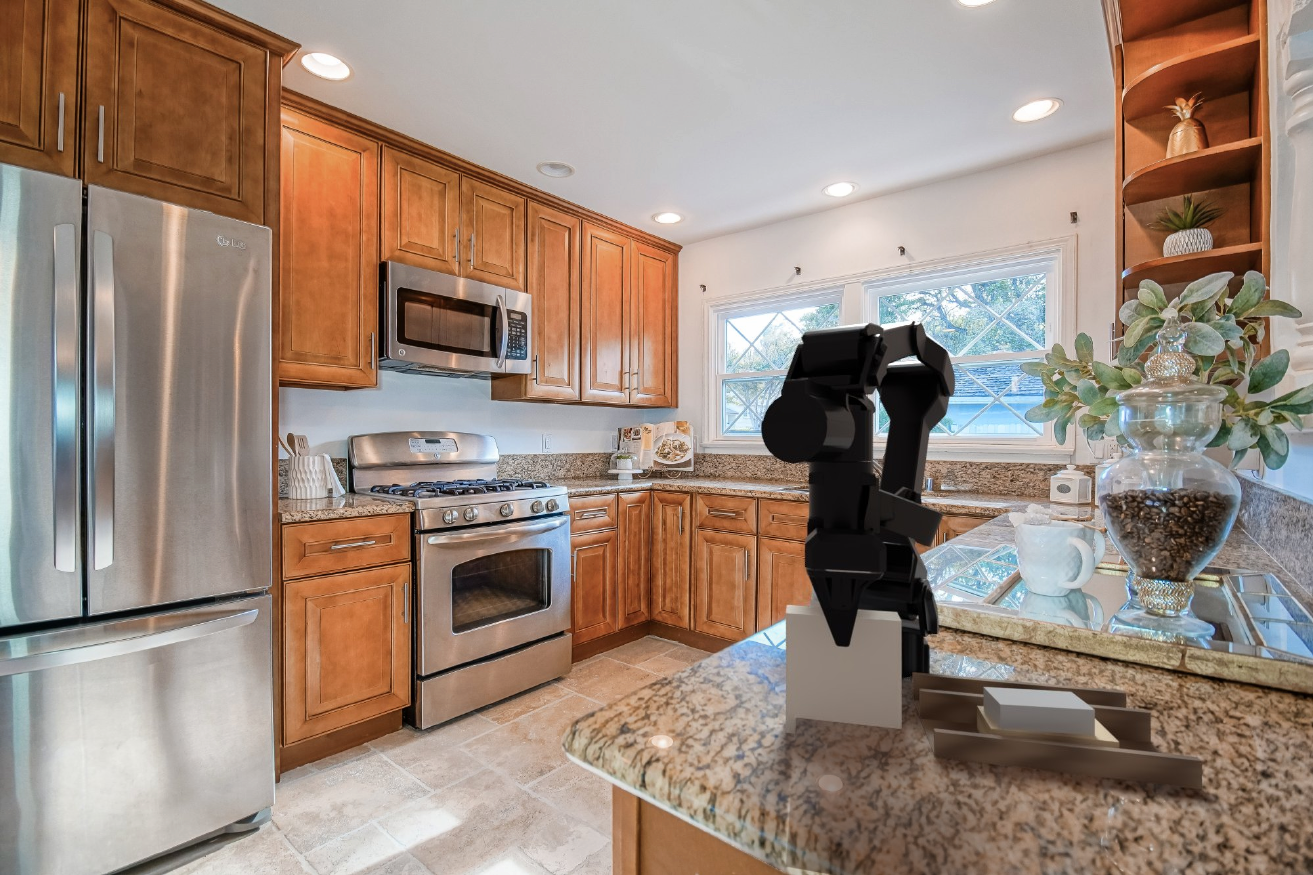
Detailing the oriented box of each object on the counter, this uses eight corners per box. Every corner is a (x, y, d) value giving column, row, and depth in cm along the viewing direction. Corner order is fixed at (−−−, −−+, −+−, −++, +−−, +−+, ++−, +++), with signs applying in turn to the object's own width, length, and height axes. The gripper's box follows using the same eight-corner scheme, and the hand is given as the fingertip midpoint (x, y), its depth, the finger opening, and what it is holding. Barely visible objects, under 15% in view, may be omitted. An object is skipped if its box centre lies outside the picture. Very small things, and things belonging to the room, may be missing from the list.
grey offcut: (1000, 728, 50) (1000, 704, 50) (983, 709, 54) (983, 686, 54) (1094, 735, 49) (1094, 709, 49) (1071, 715, 52) (1071, 691, 52)
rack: (935, 775, 49) (935, 725, 49) (910, 706, 62) (910, 666, 63) (1202, 809, 45) (1202, 754, 45) (1115, 726, 58) (1114, 684, 58)
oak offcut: (991, 753, 50) (991, 728, 50) (977, 728, 54) (976, 705, 54) (1119, 768, 48) (1119, 742, 48) (1093, 740, 52) (1093, 717, 52)
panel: (785, 732, 57) (785, 613, 57) (787, 718, 60) (787, 604, 60) (901, 746, 54) (901, 621, 54) (897, 730, 57) (896, 612, 57)
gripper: (957, 465, 46) (958, 675, 46) (917, 460, 64) (918, 610, 64) (804, 464, 49) (804, 661, 49) (807, 459, 67) (807, 603, 67)
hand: (840, 630), depth 57 cm, fingers open, 9 cm apart
